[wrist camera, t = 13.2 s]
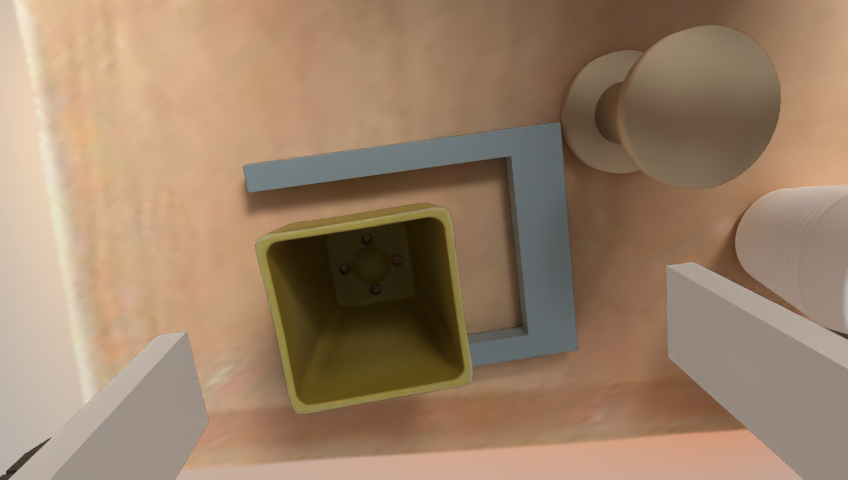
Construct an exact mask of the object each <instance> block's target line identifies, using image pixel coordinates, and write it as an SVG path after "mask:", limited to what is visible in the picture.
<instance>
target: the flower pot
mask: <svg viewBox="0 0 848 480" xmlns="http://www.w3.org/2000/svg"><path fill="white" fill-rule="evenodd" d="M364 235H370V236H371V242H370V243H368V244H366V243H363V241H362V237H363V236H364ZM255 247H256V254H257V258H258V262H259V266H260V270H261V274H262V278H263V282H264V285H265V289H266V293H267V297H268V301H269V305H270V309H271V313H272V317H273V321H274V326H275V330H276V335H277V340H278V345H279V350H280V355H281V359H282V365H283V370H284V374H285V379H286V384H287V390H288V395H289V400H290V403H291V406H292V408H293V410H294V412H295V413H297V414H309V413H314V412H320V411H325V410H331V409H336V408H342V407H347V406H352V405H357V404H362V403H368V402H374V401H380V400H385V399H391V398H397V397H403V396H408V395H414V394H420V393H427V392H433V391H438V390H443V389H449V388H455V387H459V386H462V385H466V384H469V383H470V382H471V381H472V377H473V368H472V361H471V355H470V348H469V342H468V335H467V328H466V322H465V315H464V307H463V299H462V293H461V286H460V279H459V271H458V264H457V256H456V246H455V238H454V231H453V225H452V220H451V215H450V213H449V211H448V210H447V209H446V208H443V207H440V206H436V205H432V204H429V203H416V204H411V205H405V206H400V207H394V208H388V209H383V210H377V211H371V212H364V213H358V214H352V215H346V216H339V217H332V218H325V219H318V220H311V221H304V222H297V223H292V224H289V225H286V226H284V227H282V228H279V229H277V230H275V231H272V232H270V233H268V234H266V235H264V236H262V237H261V238H259V239H258V240H257V242H256V246H255ZM395 256H400V257H401V258H402V262H401V263H400V264H394V263H393V258H394V257H395ZM344 264H346V265H348V266H349V267H350V270H349V272H347V273H343V272H342V271H341V269H340V268H341V266H342V265H344ZM373 285H378V286H379V287H380V291H379V292H378V293H373V292H372V291H371V287H372V286H373Z"/></svg>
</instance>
